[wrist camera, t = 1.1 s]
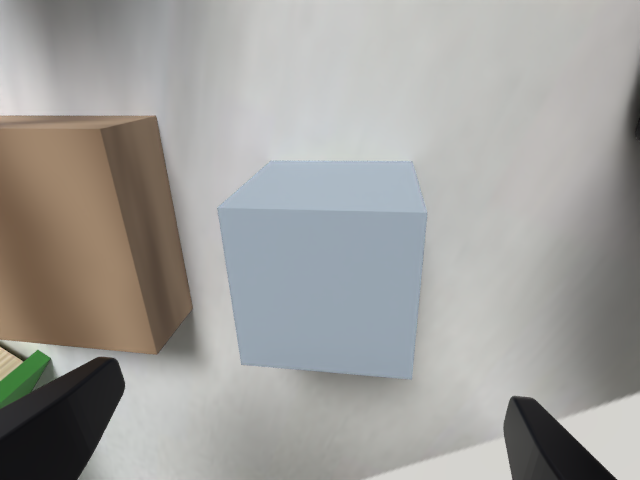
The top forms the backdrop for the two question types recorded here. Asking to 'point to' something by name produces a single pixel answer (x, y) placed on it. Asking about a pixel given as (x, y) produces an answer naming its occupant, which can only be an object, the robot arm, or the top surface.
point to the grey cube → (327, 266)
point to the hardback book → (19, 375)
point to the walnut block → (88, 234)
